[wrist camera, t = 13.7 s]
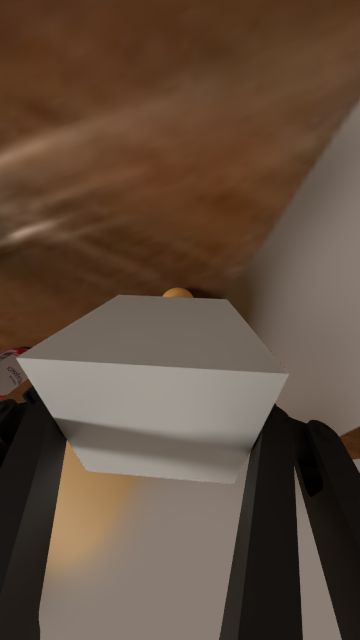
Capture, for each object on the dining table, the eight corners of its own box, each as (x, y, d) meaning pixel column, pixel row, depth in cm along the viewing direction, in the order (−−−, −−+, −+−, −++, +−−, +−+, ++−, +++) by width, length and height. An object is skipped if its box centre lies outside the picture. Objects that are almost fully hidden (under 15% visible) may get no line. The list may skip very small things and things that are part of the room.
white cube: (118, 294, 13) (15, 357, 5) (227, 299, 13) (289, 374, 5) (132, 373, 18) (86, 471, 10) (212, 378, 17) (233, 484, 9)
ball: (162, 326, 22) (164, 297, 23) (194, 327, 21) (194, 297, 23) (154, 316, 17) (157, 280, 18) (196, 317, 17) (196, 280, 18)
